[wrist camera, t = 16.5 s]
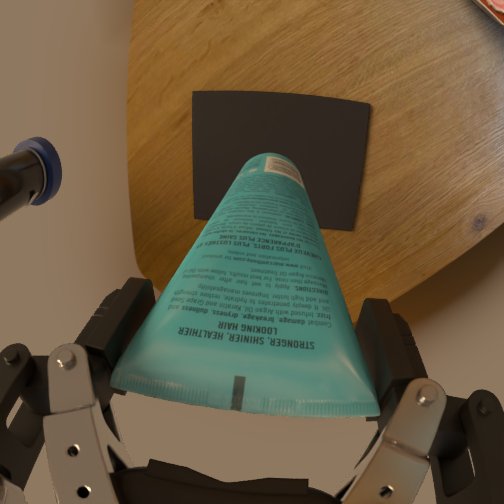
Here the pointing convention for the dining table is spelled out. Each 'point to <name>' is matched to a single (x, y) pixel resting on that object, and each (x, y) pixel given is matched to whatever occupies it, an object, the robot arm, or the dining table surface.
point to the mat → (280, 146)
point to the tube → (254, 313)
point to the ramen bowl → (492, 9)
